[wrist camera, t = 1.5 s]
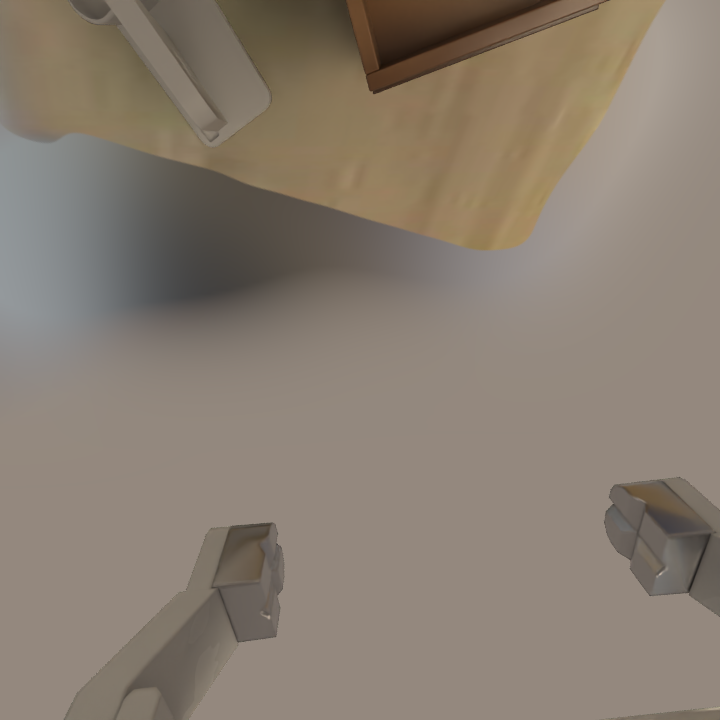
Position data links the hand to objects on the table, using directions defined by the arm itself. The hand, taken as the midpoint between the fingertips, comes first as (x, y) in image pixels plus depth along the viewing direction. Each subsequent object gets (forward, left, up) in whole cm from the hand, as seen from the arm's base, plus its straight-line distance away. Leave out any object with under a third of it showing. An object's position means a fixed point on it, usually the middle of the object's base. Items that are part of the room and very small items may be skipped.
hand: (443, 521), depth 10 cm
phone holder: (-15, -20, -47) cm, 53 cm away
